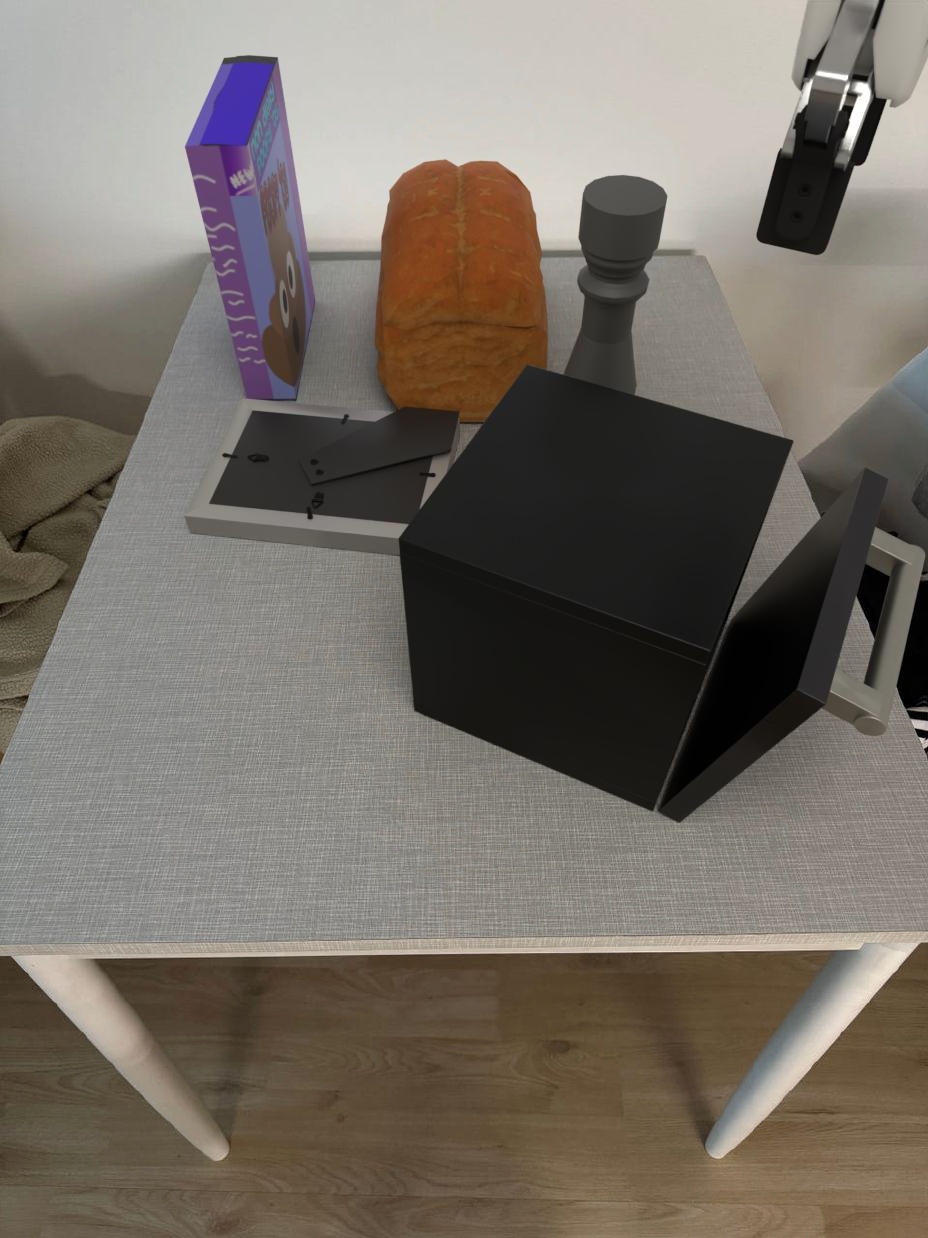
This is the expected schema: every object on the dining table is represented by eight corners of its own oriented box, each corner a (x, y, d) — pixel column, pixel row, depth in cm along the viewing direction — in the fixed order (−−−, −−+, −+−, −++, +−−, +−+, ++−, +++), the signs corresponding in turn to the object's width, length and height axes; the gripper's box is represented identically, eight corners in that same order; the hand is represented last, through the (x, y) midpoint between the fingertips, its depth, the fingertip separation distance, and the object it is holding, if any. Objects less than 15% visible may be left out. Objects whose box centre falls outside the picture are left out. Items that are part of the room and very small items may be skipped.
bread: (377, 426, 83) (360, 270, 70) (388, 274, 99) (376, 126, 87) (547, 424, 83) (561, 267, 70) (530, 272, 99) (538, 124, 87)
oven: (727, 620, 68) (794, 439, 54) (652, 811, 58) (711, 651, 44) (515, 546, 73) (526, 363, 59) (413, 711, 63) (397, 538, 49)
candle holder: (603, 444, 81) (646, 167, 61) (632, 487, 77) (687, 208, 58) (541, 458, 80) (564, 180, 60) (567, 503, 76) (601, 223, 57)
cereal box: (296, 400, 85) (246, 142, 66) (247, 400, 85) (184, 143, 66) (315, 300, 96) (277, 54, 77) (271, 300, 96) (223, 54, 77)
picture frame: (459, 435, 82) (245, 415, 84) (459, 411, 80) (239, 391, 82) (431, 558, 72) (190, 533, 74) (429, 535, 70) (181, 509, 72)
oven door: (800, 655, 67) (954, 511, 53) (738, 856, 57) (906, 747, 43) (731, 618, 68) (865, 466, 53) (657, 811, 58) (796, 688, 43)
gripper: (1071, -252, 24) (856, 307, 38) (1096, -321, 34) (918, 144, 47) (798, -269, 26) (687, 266, 40) (895, -329, 36) (779, 118, 49)
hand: (812, 199), depth 43 cm, fingers open, 9 cm apart
